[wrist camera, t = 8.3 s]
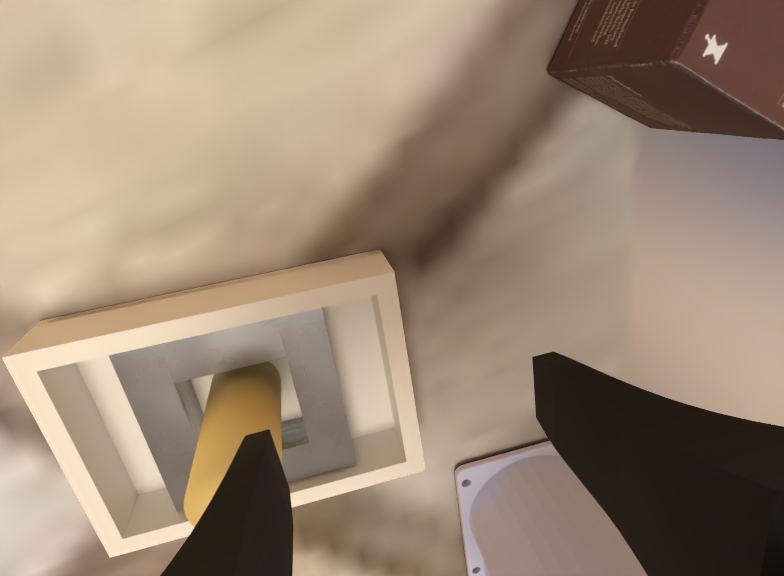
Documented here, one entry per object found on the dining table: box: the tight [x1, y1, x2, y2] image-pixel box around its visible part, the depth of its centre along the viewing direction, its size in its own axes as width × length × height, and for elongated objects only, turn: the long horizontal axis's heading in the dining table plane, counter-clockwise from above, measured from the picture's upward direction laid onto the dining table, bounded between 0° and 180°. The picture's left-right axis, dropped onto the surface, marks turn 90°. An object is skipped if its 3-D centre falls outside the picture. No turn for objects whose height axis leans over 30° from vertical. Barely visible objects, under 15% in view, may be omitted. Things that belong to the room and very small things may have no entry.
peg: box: [184, 361, 282, 527], centre depth 19 cm, size 3×3×7 cm
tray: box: [2, 249, 426, 558], centre depth 21 cm, size 10×14×3 cm
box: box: [548, 0, 784, 140], centre depth 17 cm, size 6×6×7 cm
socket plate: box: [108, 308, 357, 512], centre depth 21 cm, size 8×8×2 cm
